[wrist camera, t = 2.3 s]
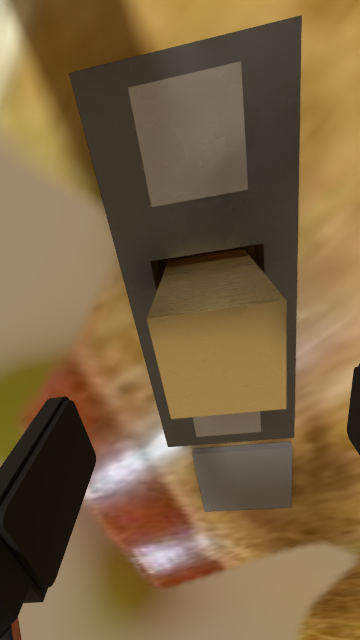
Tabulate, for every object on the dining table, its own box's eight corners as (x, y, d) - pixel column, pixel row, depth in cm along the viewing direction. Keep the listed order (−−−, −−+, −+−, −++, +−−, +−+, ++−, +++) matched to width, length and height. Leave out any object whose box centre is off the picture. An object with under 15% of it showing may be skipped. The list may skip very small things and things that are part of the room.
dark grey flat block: (283, 45, 13) (302, 13, 11) (284, 413, 23) (294, 438, 21) (88, 91, 14) (68, 72, 12) (170, 423, 24) (167, 448, 22)
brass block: (243, 248, 17) (286, 300, 9) (248, 318, 20) (286, 408, 12) (168, 260, 18) (146, 319, 10) (180, 326, 20) (171, 419, 12)
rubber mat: (290, 441, 25) (292, 447, 24) (289, 501, 28) (291, 507, 28) (192, 448, 26) (192, 454, 25) (204, 505, 30) (204, 511, 29)
